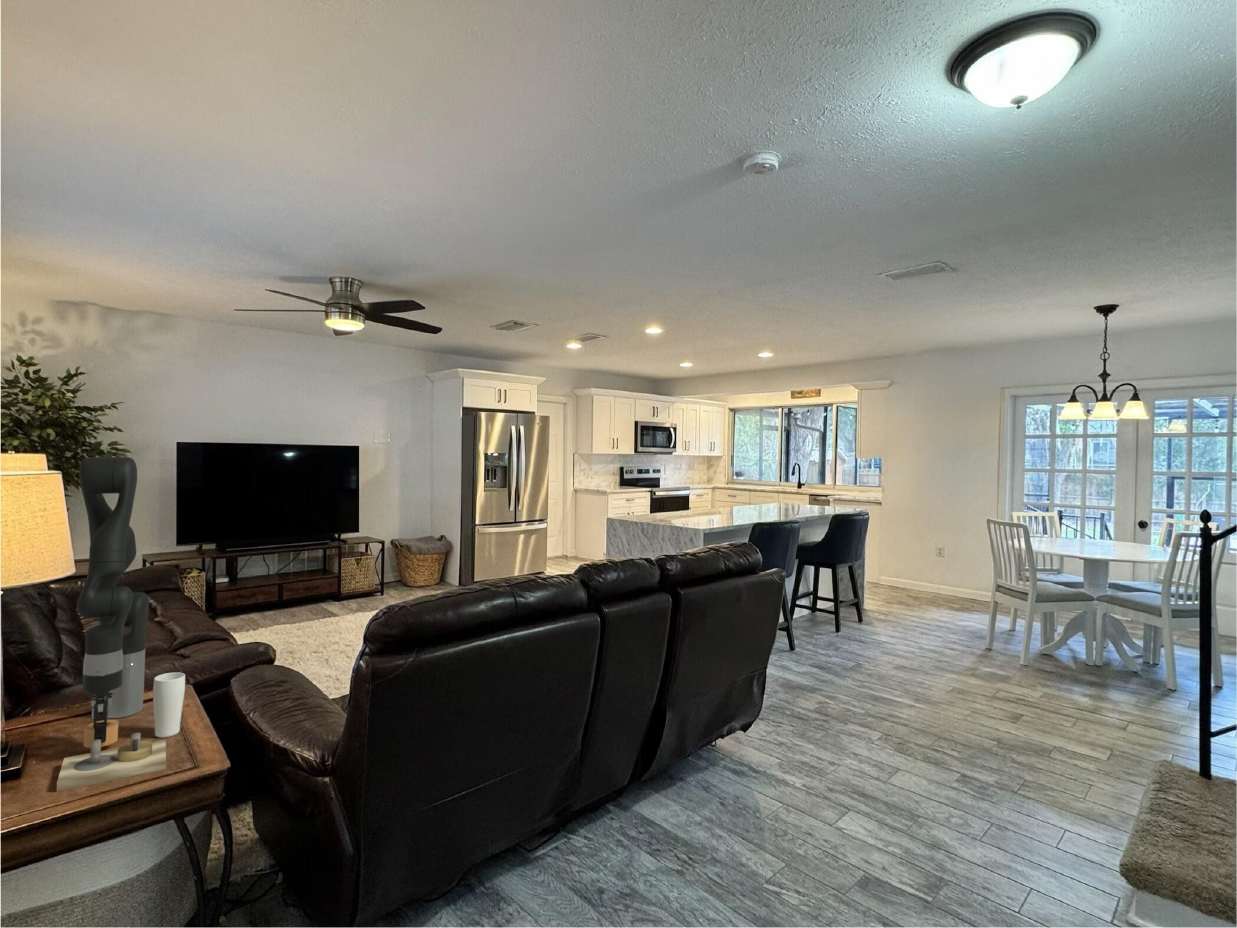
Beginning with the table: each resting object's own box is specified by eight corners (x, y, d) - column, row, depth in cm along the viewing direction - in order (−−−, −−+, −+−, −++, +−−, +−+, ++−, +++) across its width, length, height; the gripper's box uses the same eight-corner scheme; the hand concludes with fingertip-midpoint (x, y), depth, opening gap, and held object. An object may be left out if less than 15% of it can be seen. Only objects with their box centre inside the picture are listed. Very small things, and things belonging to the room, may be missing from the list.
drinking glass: (164, 727, 167) (166, 671, 167) (189, 729, 166) (191, 672, 166) (144, 738, 160) (146, 680, 160) (170, 740, 160) (172, 681, 160)
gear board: (63, 766, 145) (65, 736, 145) (165, 747, 156) (166, 719, 156) (56, 791, 134) (57, 759, 134) (165, 769, 146) (167, 739, 146)
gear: (84, 739, 154) (85, 723, 154) (118, 733, 158) (118, 717, 158) (82, 750, 149) (83, 733, 149) (117, 743, 153) (117, 727, 152)
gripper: (85, 662, 156) (83, 728, 157) (80, 681, 145) (77, 752, 145) (123, 657, 161) (121, 722, 161) (121, 675, 149) (119, 744, 150)
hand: (100, 736), depth 153 cm, fingers closed on gear, 6 cm apart
